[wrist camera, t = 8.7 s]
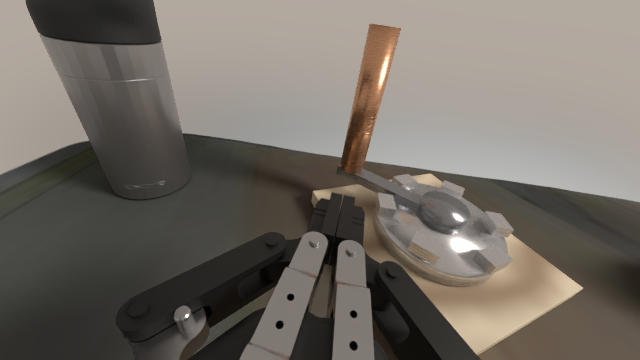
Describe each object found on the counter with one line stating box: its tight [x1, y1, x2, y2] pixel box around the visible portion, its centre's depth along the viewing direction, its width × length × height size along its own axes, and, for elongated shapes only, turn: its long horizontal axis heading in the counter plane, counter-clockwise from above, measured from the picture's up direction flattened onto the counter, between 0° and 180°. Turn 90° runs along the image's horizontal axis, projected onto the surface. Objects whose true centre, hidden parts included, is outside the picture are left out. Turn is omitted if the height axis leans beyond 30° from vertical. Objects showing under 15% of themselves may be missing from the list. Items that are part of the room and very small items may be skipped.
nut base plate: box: [311, 174, 583, 356], centre depth 29 cm, size 22×22×2 cm
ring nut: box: [337, 24, 513, 287], centre depth 24 cm, size 20×14×20 cm
